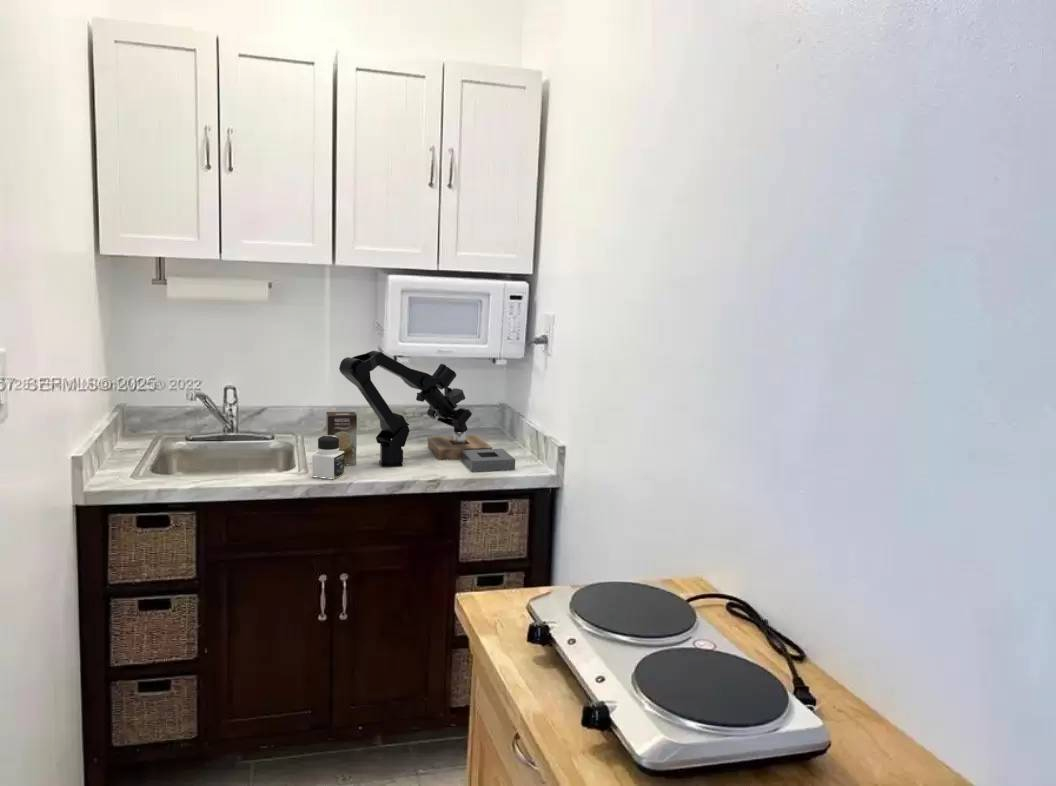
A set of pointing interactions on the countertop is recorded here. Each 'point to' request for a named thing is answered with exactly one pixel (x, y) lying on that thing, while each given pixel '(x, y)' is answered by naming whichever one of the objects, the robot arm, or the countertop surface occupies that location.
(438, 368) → the robot arm
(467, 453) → the socket block
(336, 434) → the coffee box
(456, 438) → the dark rounded cylinder
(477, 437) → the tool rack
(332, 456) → the medicine bottle
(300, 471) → the countertop surface
